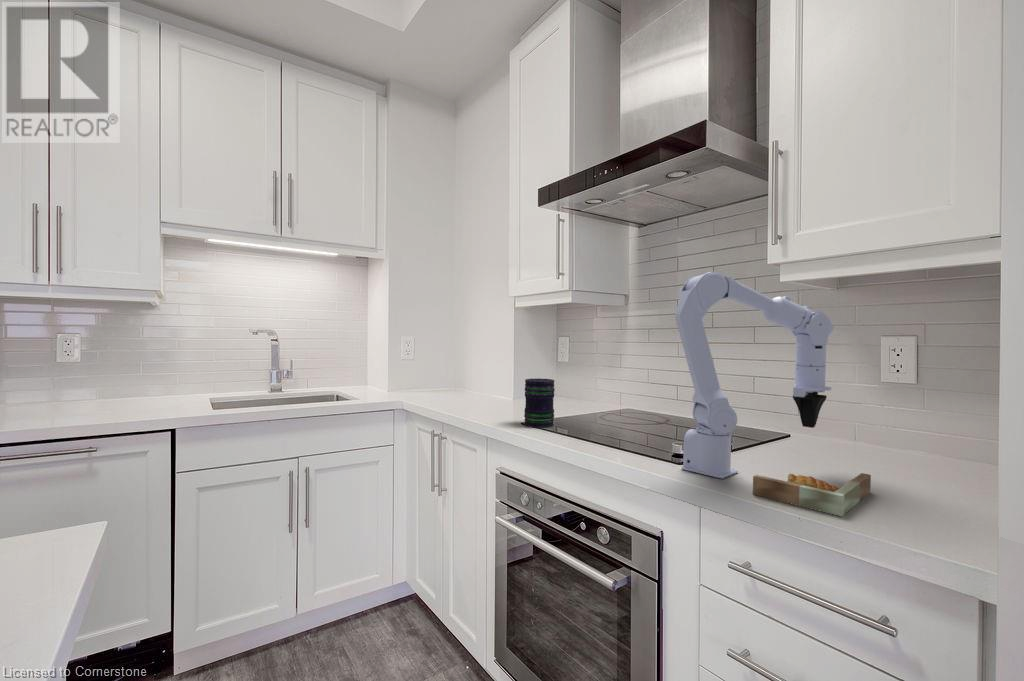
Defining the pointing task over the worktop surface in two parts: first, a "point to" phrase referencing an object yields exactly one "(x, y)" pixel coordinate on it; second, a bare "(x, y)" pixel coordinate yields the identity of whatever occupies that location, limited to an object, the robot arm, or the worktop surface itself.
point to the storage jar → (539, 403)
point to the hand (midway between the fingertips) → (808, 426)
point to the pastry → (811, 482)
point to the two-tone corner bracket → (814, 493)
